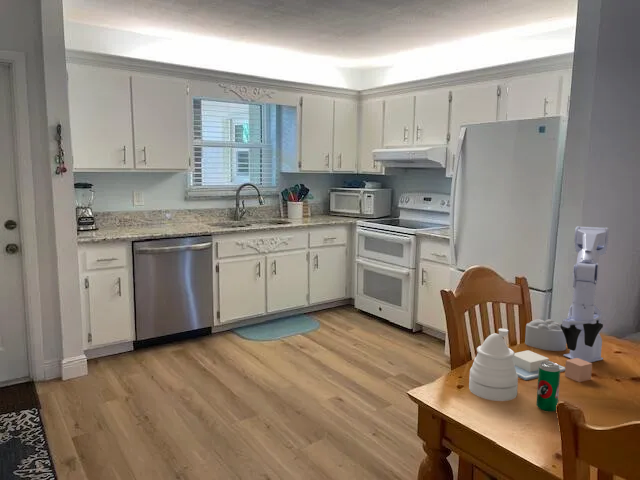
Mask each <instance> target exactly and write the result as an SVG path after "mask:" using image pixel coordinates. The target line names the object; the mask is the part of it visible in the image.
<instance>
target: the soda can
mask: <svg viewBox="0 0 640 480" xmlns="http://www.w3.org/2000/svg"><path fill="white" fill-rule="evenodd" d="M559 365H560V364H558V363H556V362H553V361H551V362H548V361H544V362H541V365H540V366H539V372H538V378H537V390H536V391H537V392H536V401H535V402H536V403H535V405H536V406H537V408H538V409H539V410H540V411H543V412H548V413H553V412H555V411H557V410H556V405H557V403H558V404H559V396H560V395H559V392H560V383H561V382H560V381H561V379H560V378H561V372H560V368H559Z"/></svg>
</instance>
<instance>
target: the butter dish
mask: <svg viewBox="0 0 640 480" xmlns="http://www.w3.org/2000/svg"><path fill="white" fill-rule="evenodd" d="M514 353H515V354H514V357H512V360H513V362H514V364H515V366H514V367H515V369H516V373H517V375H518V378H520V379H522V380H524V381H528V380H533V379H538V372H539V366H540V365H541V362H544V361H548V362H552V361H550V358H549V357H547V356H544V355H542V354H539V353H536V352H533V351H532V350H527V349H526V350H523V351H518V352H514ZM558 365H559V368H560V373H562V372H565V366H562V365H560V364H558Z"/></svg>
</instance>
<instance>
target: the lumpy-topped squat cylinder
mask: <svg viewBox="0 0 640 480" xmlns="http://www.w3.org/2000/svg"><path fill="white" fill-rule="evenodd" d="M524 336H525V337H524V340H525V341H524V344H525V345H526V346H527V347H533V348H536V349H540V350H544V351H552V352H553V351H554V352H563V351H566V350H567V343H566V339H565V336H564V333H563V331H562V329H561V324H560V322H556V321H555V320H553V319H550V318H549V319H546V320H543V319H540V318H537V319H536V318H535V319H534V320H531V321H530V322H527V323H526V325H525V335H524Z"/></svg>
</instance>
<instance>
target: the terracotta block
mask: <svg viewBox="0 0 640 480" xmlns="http://www.w3.org/2000/svg"><path fill="white" fill-rule="evenodd" d="M564 367H565V371H564V376H565V377H567V378H569V379H571V380H573V381H576V382H578V383H581V382H586V381H590V380H592V370H593V368H592V367H593V362H590V363H589V362H587V361H584V360H582V359H579V358H574V359H570V358H569V359H566V360H565V366H564Z"/></svg>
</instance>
